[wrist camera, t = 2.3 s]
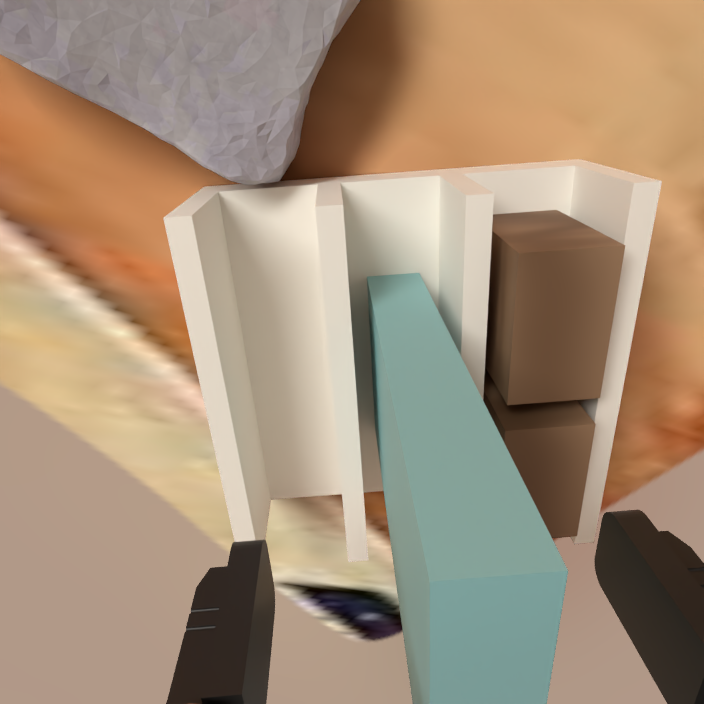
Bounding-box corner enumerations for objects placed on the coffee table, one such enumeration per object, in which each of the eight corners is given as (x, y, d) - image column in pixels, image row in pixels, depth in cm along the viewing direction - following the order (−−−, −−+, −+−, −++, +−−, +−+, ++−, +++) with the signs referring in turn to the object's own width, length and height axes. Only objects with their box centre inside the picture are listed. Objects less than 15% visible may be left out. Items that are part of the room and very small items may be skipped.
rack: (579, 159, 20) (661, 180, 15) (544, 457, 26) (594, 542, 21) (204, 186, 20) (163, 218, 15) (257, 480, 26) (241, 570, 21)
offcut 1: (556, 209, 19) (625, 245, 15) (543, 334, 22) (600, 397, 17) (474, 215, 19) (518, 253, 15) (469, 339, 22) (507, 405, 17)
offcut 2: (541, 356, 22) (595, 424, 18) (530, 453, 24) (576, 536, 20) (469, 361, 22) (505, 431, 17) (465, 458, 24) (496, 542, 20)
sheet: (418, 272, 20) (568, 570, 8) (420, 425, 23) (527, 817, 11) (366, 276, 20) (429, 581, 8) (375, 429, 23) (429, 825, 11)
